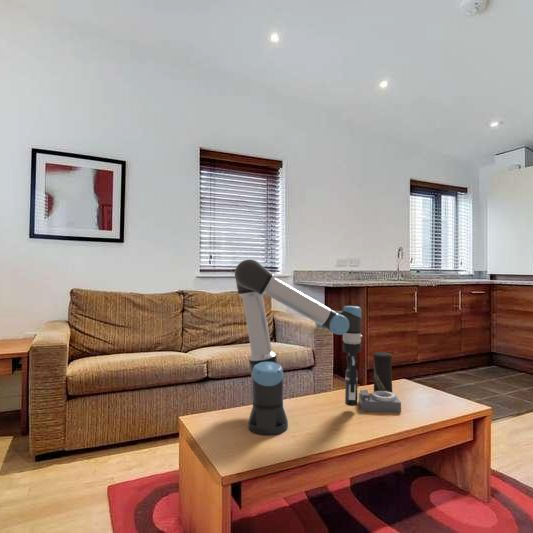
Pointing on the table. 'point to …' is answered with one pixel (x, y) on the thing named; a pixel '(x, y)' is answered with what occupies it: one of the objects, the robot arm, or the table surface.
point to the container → (382, 372)
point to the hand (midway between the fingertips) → (351, 397)
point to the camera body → (379, 401)
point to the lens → (347, 401)
